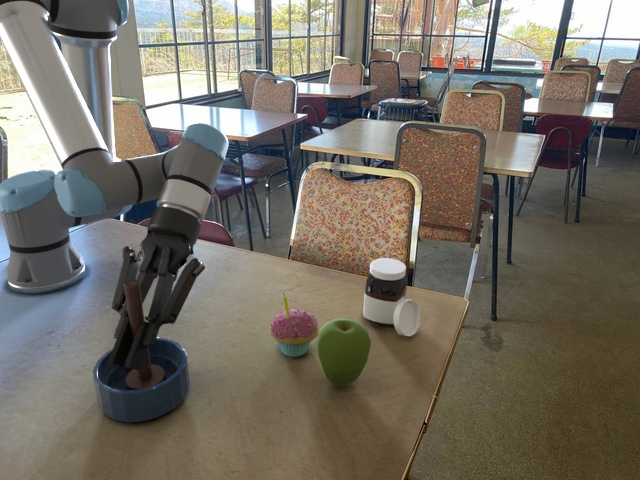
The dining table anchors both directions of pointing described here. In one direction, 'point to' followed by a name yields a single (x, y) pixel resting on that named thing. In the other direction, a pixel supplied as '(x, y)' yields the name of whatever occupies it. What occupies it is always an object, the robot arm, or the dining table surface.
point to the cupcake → (294, 330)
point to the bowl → (150, 399)
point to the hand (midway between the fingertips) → (124, 366)
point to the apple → (343, 350)
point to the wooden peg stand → (148, 371)
